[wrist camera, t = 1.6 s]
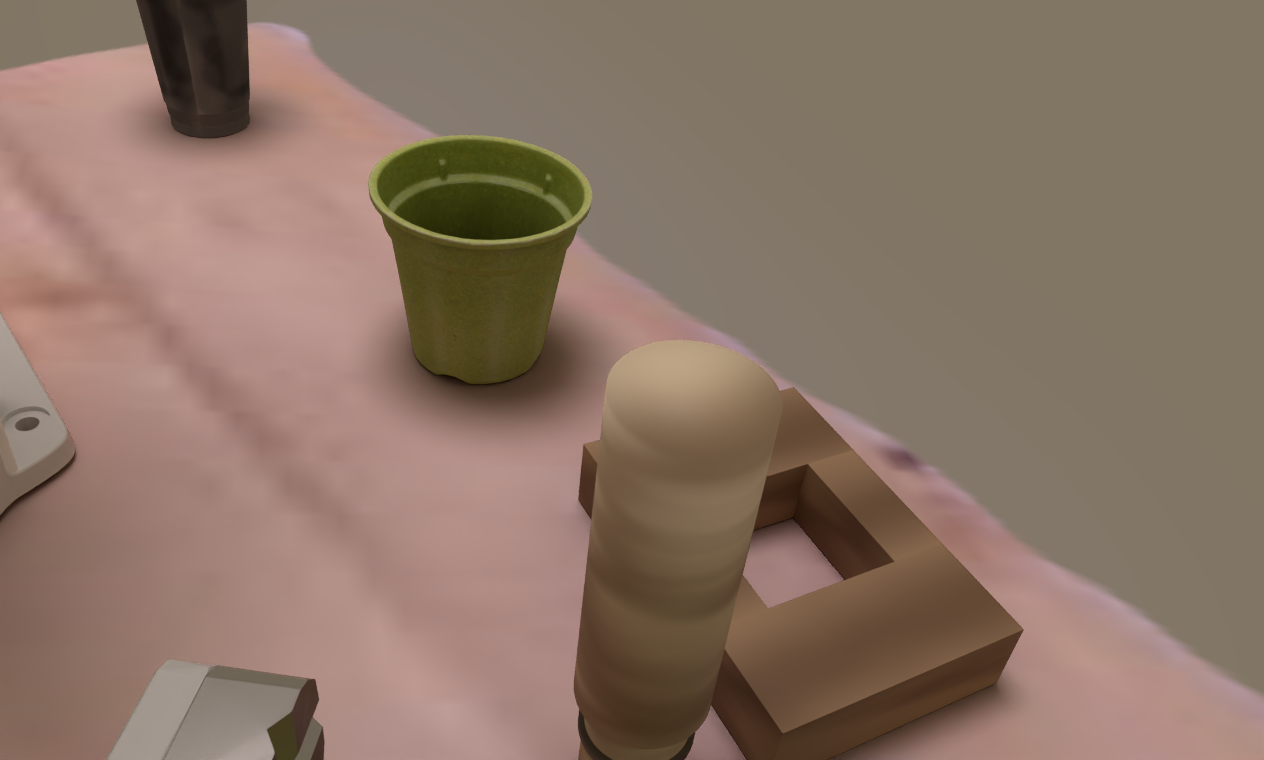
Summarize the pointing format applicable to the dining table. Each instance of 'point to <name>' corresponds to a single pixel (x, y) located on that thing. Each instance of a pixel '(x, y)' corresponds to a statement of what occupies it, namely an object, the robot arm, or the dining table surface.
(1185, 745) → the dining table surface
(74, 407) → the dining table surface
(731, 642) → the brown wooden frame
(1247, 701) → the dining table surface
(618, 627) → the peg
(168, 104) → the beverage cup
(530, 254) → the plant pot
